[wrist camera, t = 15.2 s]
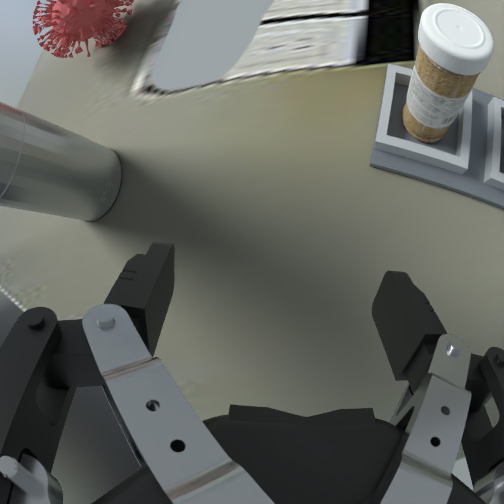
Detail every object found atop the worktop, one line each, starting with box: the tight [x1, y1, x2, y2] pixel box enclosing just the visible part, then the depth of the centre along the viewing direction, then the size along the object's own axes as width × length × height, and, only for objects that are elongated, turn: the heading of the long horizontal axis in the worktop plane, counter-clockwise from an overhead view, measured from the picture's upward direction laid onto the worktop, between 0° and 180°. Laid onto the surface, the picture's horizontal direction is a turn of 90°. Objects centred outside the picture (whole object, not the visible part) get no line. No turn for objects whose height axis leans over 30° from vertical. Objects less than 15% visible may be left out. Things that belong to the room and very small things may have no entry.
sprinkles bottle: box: [402, 3, 494, 143], centre depth 18 cm, size 5×5×13 cm
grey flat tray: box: [370, 63, 504, 209], centre depth 21 cm, size 19×11×5 cm, turn 73°
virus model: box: [33, 0, 134, 58], centre depth 30 cm, size 15×15×15 cm
